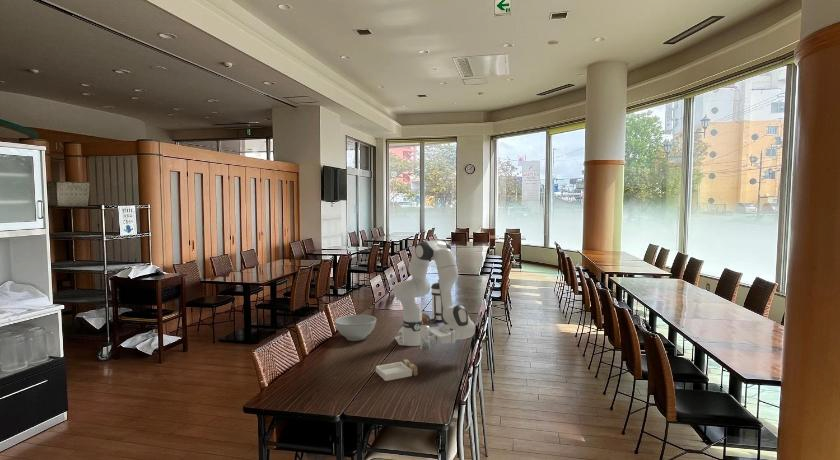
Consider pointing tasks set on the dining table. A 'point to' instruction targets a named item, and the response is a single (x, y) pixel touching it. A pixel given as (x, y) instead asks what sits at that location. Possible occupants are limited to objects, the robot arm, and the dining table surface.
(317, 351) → the dining table surface
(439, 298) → the coffee press
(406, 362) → the tan wavy block
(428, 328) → the steel canister
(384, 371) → the tray
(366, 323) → the decorative bowl
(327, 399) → the dining table surface
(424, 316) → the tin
